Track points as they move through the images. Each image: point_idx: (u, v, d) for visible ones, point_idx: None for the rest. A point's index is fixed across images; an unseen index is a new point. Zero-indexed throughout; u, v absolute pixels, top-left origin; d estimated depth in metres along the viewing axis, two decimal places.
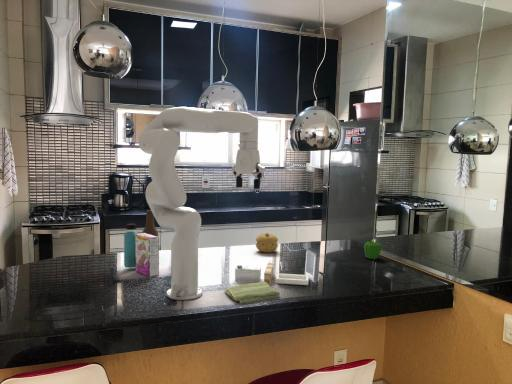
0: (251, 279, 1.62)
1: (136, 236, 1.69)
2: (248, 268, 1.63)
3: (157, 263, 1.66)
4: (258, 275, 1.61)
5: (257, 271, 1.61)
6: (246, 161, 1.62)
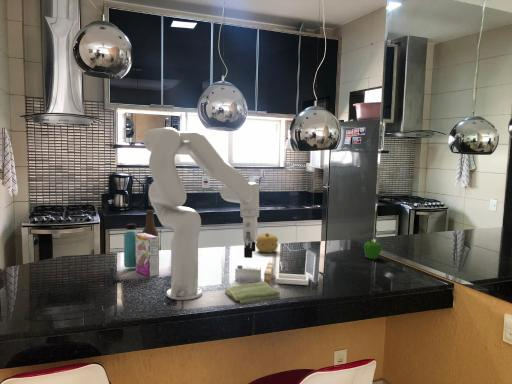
0: (251, 279, 1.62)
1: (136, 236, 1.69)
2: (248, 268, 1.63)
3: (157, 263, 1.66)
4: (258, 275, 1.61)
5: (257, 271, 1.61)
6: None
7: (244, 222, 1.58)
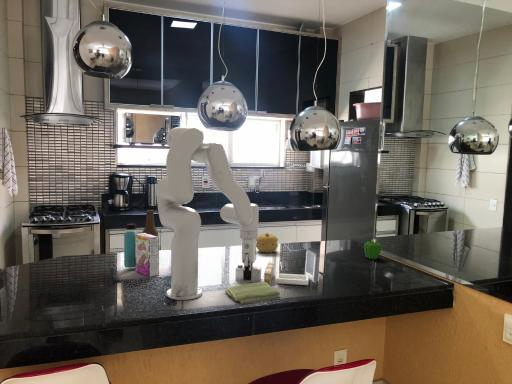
0: (251, 279, 1.62)
1: (136, 236, 1.69)
2: None
3: (157, 263, 1.66)
4: (258, 275, 1.61)
5: (257, 271, 1.61)
6: (255, 248, 1.64)
7: (243, 243, 1.58)
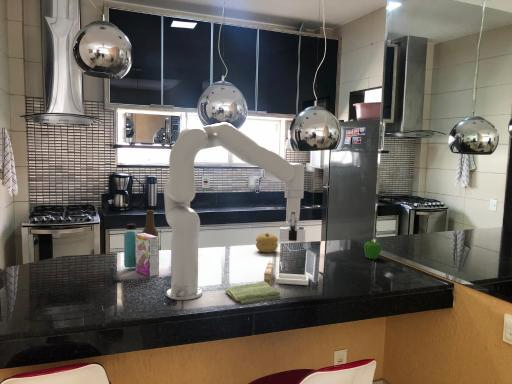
0: None
1: (136, 236, 1.69)
2: None
3: (157, 263, 1.66)
4: None
5: None
6: (286, 209, 1.59)
7: None
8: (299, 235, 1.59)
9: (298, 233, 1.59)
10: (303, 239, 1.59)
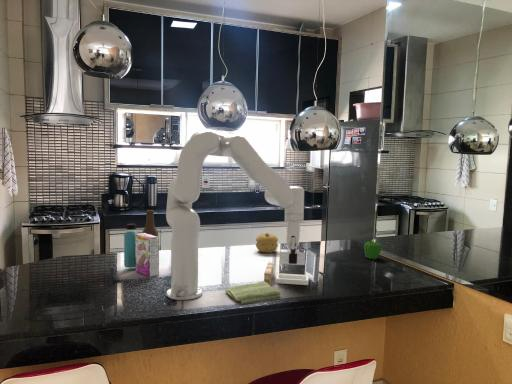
0: None
1: (136, 236, 1.69)
2: None
3: (157, 263, 1.66)
4: None
5: None
6: None
7: None
8: (299, 258, 1.60)
9: (298, 256, 1.60)
10: (303, 262, 1.60)
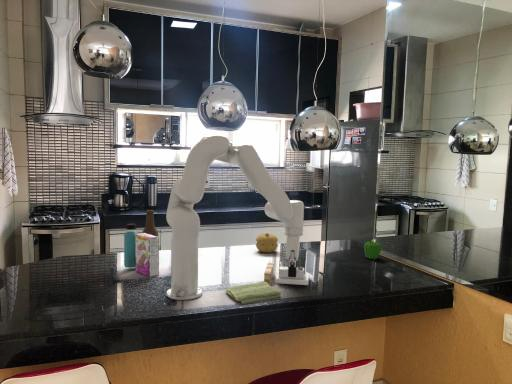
0: None
1: (136, 236, 1.69)
2: None
3: (157, 263, 1.66)
4: None
5: None
6: None
7: None
8: (298, 275, 1.60)
9: (297, 274, 1.60)
10: None
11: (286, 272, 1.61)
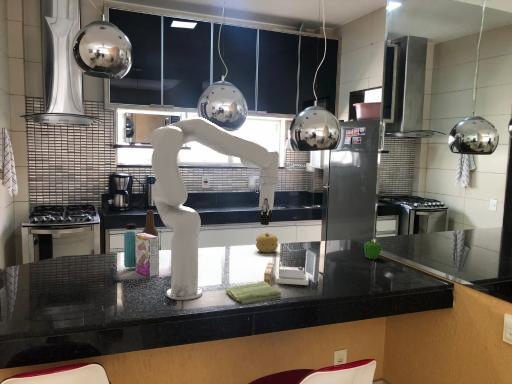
0: None
1: (136, 236, 1.69)
2: (291, 268, 1.63)
3: (157, 263, 1.66)
4: None
5: None
6: None
7: None
8: (298, 275, 1.60)
9: (297, 274, 1.60)
10: None
11: (286, 272, 1.61)
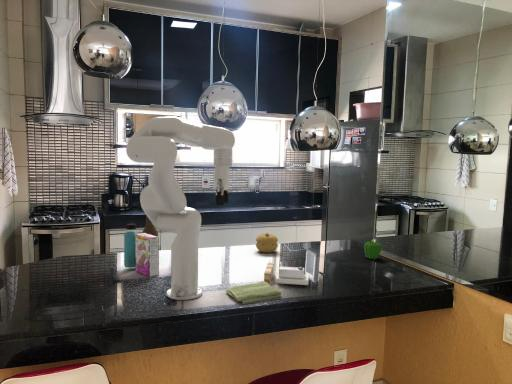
0: None
1: (136, 236, 1.69)
2: (291, 268, 1.63)
3: (157, 263, 1.66)
4: None
5: None
6: None
7: None
8: (298, 275, 1.60)
9: (297, 274, 1.60)
10: None
11: (286, 272, 1.61)
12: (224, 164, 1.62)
